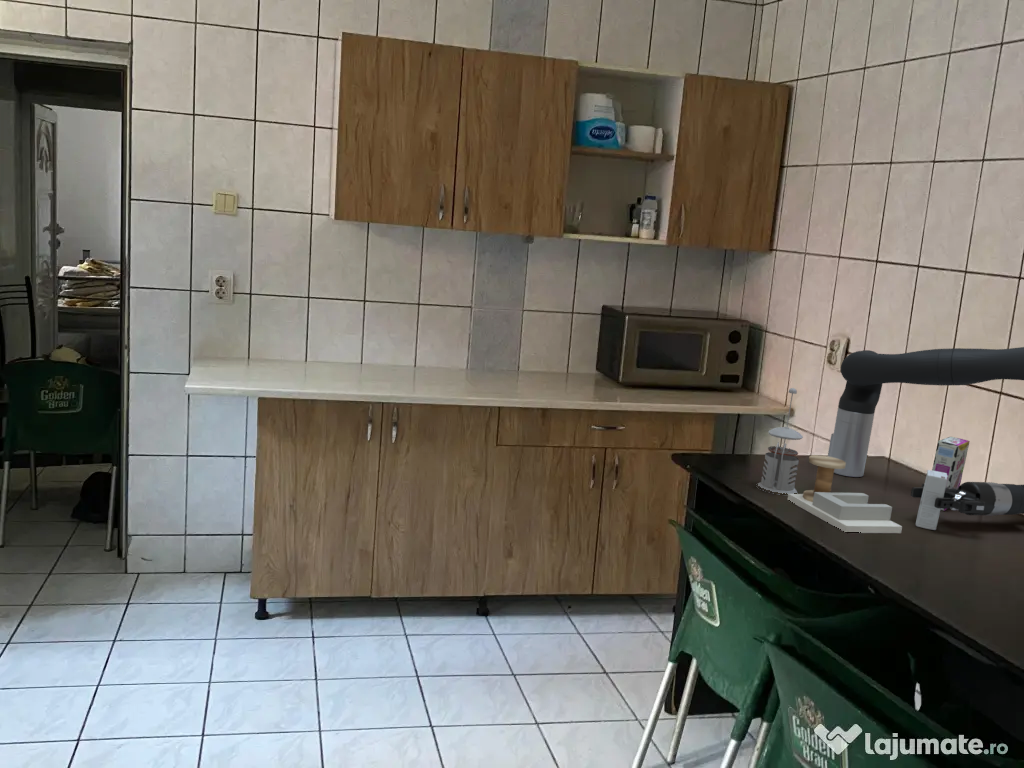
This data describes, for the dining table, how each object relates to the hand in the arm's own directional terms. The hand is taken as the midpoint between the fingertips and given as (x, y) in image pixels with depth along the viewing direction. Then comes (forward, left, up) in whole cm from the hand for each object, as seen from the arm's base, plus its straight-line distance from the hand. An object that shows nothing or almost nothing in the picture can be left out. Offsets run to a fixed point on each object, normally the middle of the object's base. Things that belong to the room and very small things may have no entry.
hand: (924, 497), depth 204 cm
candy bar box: (-15, +19, -7) cm, 25 cm away
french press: (-25, -21, -7) cm, 33 cm away
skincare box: (0, +2, -7) cm, 7 cm away
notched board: (-6, -16, -7) cm, 18 cm away
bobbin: (-13, -17, -5) cm, 22 cm away
